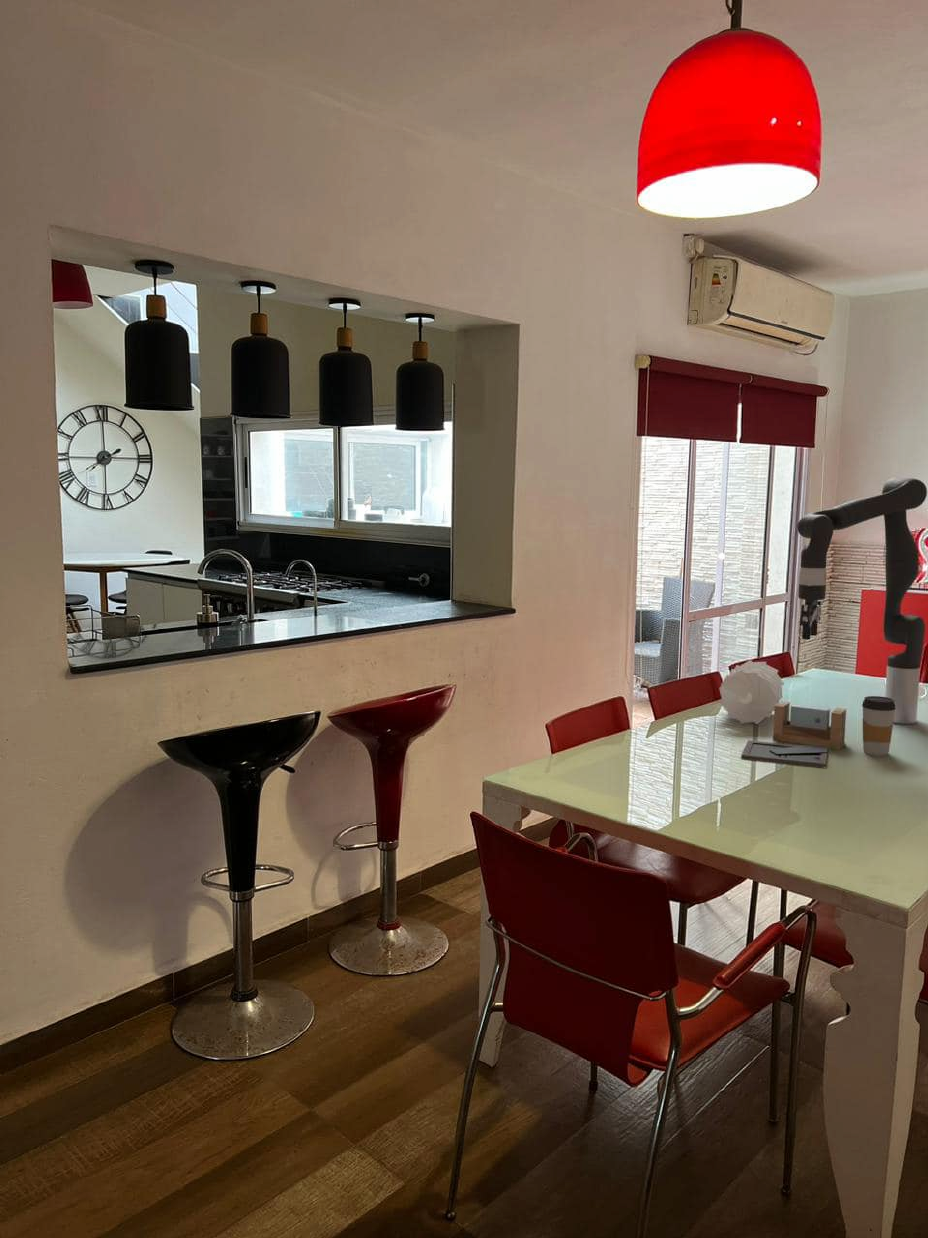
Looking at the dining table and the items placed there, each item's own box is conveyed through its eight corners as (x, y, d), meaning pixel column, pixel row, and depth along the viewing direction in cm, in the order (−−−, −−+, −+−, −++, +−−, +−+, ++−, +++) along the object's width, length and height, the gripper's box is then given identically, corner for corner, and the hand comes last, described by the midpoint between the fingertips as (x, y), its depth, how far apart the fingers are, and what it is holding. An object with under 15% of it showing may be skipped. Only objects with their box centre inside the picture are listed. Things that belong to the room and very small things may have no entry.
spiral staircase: (768, 723, 296) (758, 737, 273) (719, 695, 302) (706, 707, 279) (796, 675, 291) (789, 686, 269) (746, 648, 297) (735, 656, 275)
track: (779, 734, 267) (780, 701, 265) (844, 743, 257) (846, 709, 255) (772, 739, 261) (774, 705, 259) (839, 749, 251) (841, 714, 250)
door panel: (792, 731, 262) (793, 704, 261) (828, 736, 257) (830, 708, 256) (788, 734, 259) (790, 706, 258) (825, 739, 254) (826, 711, 253)
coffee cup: (896, 757, 243) (899, 703, 241) (863, 756, 244) (866, 701, 242) (888, 749, 251) (891, 696, 249) (856, 747, 252) (859, 695, 250)
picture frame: (827, 753, 248) (747, 745, 257) (827, 746, 248) (748, 738, 256) (825, 769, 234) (741, 760, 242) (825, 762, 234) (741, 753, 242)
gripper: (805, 580, 274) (802, 633, 276) (793, 584, 262) (790, 639, 264) (831, 581, 269) (828, 635, 272) (820, 585, 258) (817, 641, 260)
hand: (809, 637), depth 268 cm, fingers open, 8 cm apart
